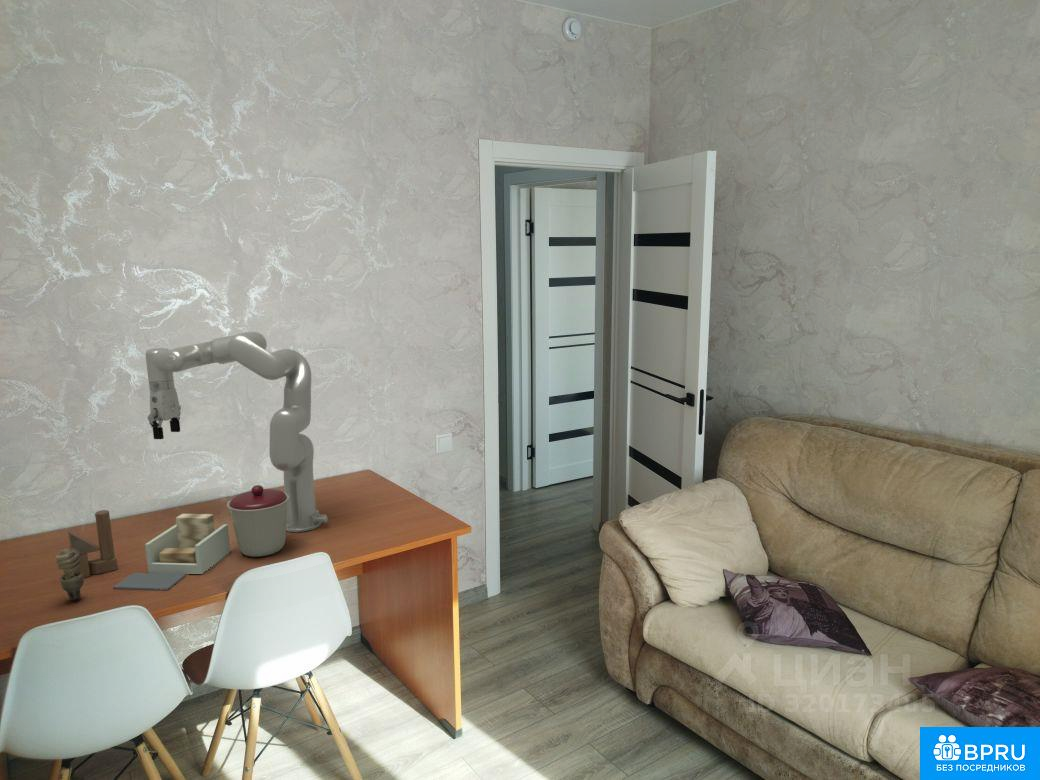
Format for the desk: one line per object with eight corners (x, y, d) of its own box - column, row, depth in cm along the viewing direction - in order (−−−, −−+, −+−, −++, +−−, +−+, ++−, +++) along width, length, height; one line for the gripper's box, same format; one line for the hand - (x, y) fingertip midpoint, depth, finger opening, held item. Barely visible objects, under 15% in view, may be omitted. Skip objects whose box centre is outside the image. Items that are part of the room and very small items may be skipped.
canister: (287, 535, 239) (282, 473, 235) (298, 554, 223) (292, 489, 220) (228, 546, 231) (222, 482, 227) (235, 567, 215) (228, 499, 211)
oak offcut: (200, 557, 217) (199, 547, 216) (194, 562, 213) (193, 553, 212) (166, 557, 217) (165, 548, 216) (160, 563, 213) (158, 553, 212)
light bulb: (80, 605, 194) (72, 552, 191) (58, 606, 193) (50, 553, 190) (90, 595, 199) (82, 543, 196) (69, 596, 199) (61, 544, 196)
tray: (230, 551, 227) (227, 524, 225) (201, 575, 211) (198, 545, 209) (180, 550, 229) (177, 523, 227) (148, 573, 212) (144, 544, 211)
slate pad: (185, 576, 210) (185, 574, 210) (167, 590, 201) (167, 588, 201) (133, 574, 212) (133, 572, 212) (113, 588, 203) (113, 586, 203)
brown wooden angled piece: (74, 576, 212) (65, 517, 208) (115, 565, 218) (108, 508, 215) (76, 580, 209) (67, 520, 205) (118, 569, 215) (110, 511, 212)
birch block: (217, 554, 225) (213, 514, 223) (211, 559, 222) (207, 518, 219) (186, 553, 226) (182, 513, 224) (180, 558, 223) (175, 517, 220)
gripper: (156, 390, 235) (162, 442, 238) (186, 380, 251) (191, 429, 255) (135, 390, 235) (141, 441, 239) (166, 380, 252) (171, 429, 255)
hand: (167, 435), depth 247 cm, fingers open, 9 cm apart
